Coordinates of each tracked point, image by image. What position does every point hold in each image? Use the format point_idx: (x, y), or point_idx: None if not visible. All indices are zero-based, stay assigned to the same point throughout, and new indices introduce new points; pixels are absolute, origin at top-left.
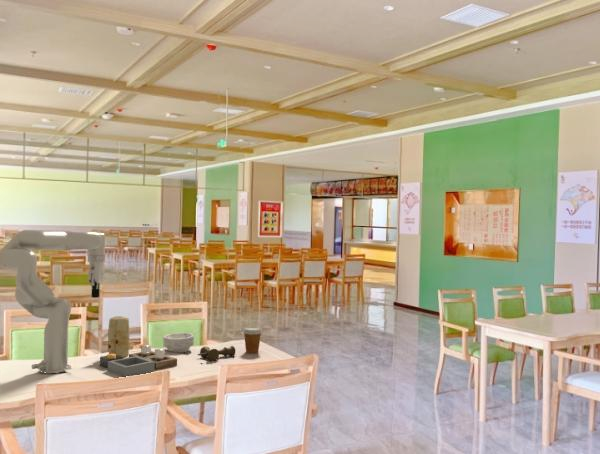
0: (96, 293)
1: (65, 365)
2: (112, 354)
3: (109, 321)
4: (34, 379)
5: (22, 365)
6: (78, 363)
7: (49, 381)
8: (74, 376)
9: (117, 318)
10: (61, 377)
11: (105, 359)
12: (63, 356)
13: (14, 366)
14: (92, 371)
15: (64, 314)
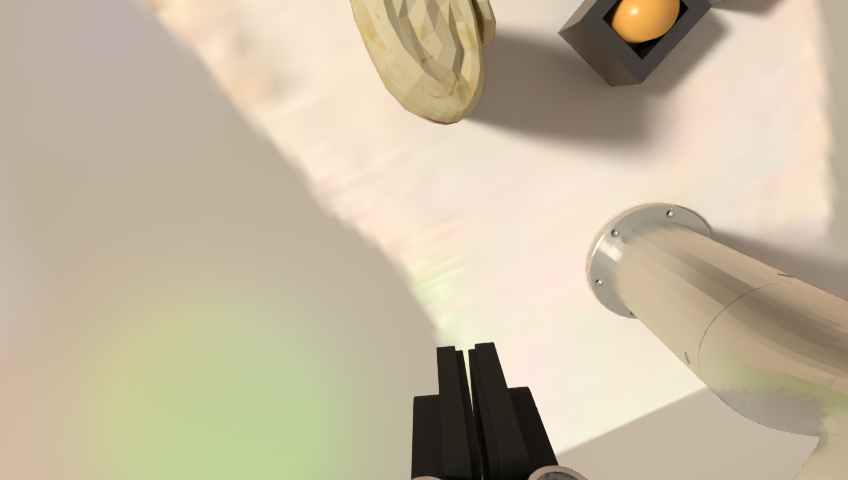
0: (523, 410)
1: (673, 224)
2: (649, 5)
3: (469, 113)
4: None
5: (568, 401)
6: (529, 220)
7: (814, 207)
8: (750, 141)
9: (446, 35)
10: (759, 188)
11: (685, 33)
12: (717, 242)
13: (583, 417)
14: (671, 97)
15: None
